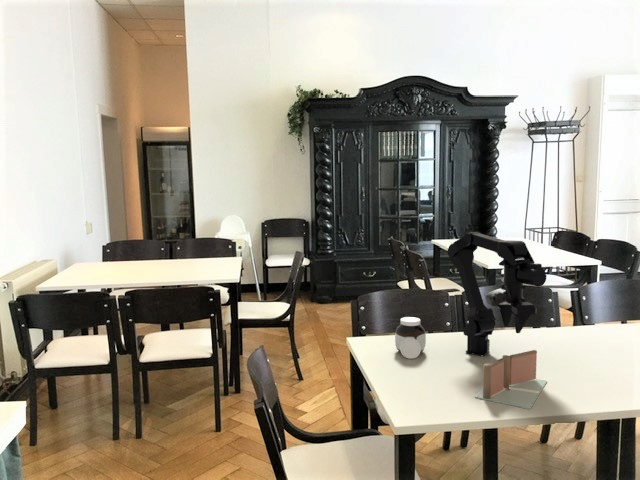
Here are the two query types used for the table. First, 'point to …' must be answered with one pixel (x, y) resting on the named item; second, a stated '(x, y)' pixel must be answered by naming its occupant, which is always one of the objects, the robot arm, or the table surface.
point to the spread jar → (410, 337)
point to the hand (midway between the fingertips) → (511, 329)
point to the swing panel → (519, 368)
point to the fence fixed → (493, 378)
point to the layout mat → (518, 394)
